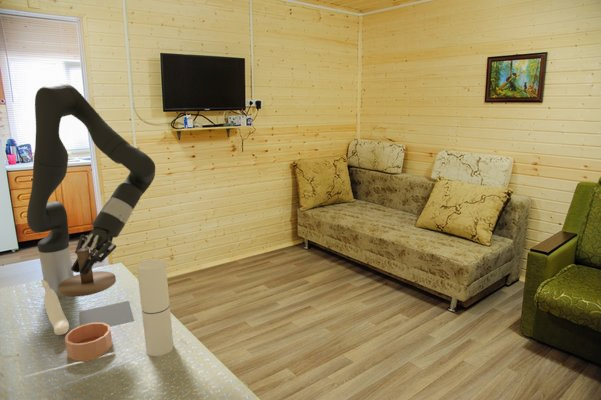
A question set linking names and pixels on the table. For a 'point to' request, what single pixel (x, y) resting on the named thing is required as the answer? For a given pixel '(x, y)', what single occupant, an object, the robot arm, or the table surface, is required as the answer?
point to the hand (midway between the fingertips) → (78, 272)
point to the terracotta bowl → (88, 341)
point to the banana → (54, 310)
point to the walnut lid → (86, 280)
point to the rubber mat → (107, 314)
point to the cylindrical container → (155, 306)
